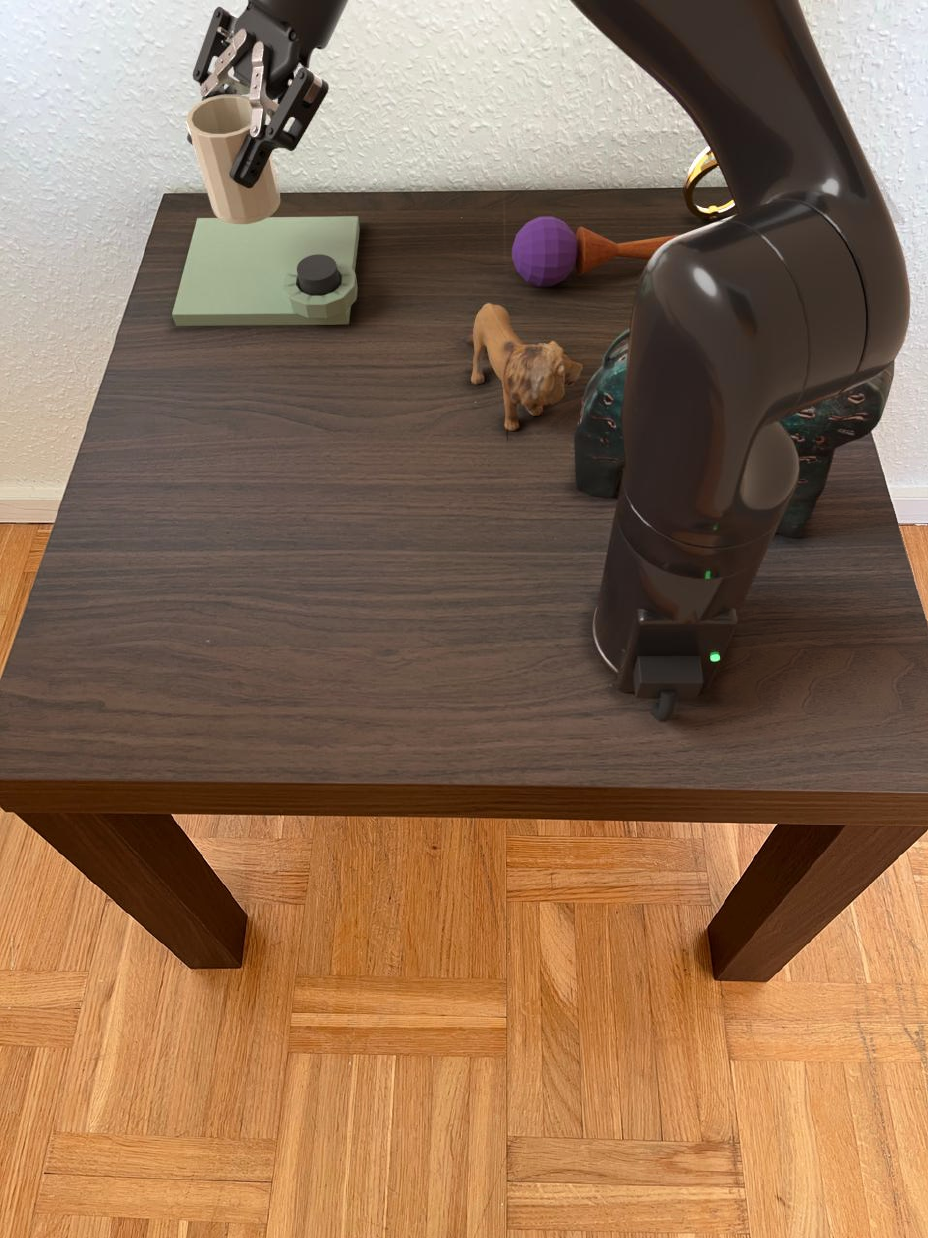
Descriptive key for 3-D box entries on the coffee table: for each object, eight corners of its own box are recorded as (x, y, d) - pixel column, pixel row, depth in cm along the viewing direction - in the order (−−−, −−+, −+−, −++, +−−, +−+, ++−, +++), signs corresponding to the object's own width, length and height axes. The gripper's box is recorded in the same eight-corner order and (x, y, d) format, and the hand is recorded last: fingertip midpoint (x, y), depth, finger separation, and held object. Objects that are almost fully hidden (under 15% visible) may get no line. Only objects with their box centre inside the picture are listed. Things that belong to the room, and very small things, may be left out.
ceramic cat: (825, 500, 72) (931, 291, 55) (817, 565, 69) (927, 365, 52) (579, 449, 75) (606, 237, 58) (560, 509, 72) (583, 303, 55)
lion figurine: (583, 432, 76) (594, 350, 68) (531, 460, 75) (536, 379, 67) (484, 332, 83) (484, 246, 75) (435, 356, 81) (430, 271, 74)
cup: (238, 233, 80) (215, 146, 73) (198, 202, 82) (171, 115, 75) (294, 202, 82) (276, 114, 75) (253, 173, 84) (232, 85, 77)
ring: (681, 231, 89) (697, 153, 83) (673, 211, 91) (688, 133, 84) (750, 224, 90) (772, 146, 83) (741, 204, 91) (762, 126, 85)
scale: (356, 330, 83) (352, 303, 81) (174, 332, 84) (164, 305, 81) (367, 228, 91) (363, 200, 88) (200, 230, 91) (192, 202, 89)
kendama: (740, 248, 82) (521, 254, 80) (718, 294, 87) (512, 301, 85) (727, 197, 84) (513, 202, 82) (706, 245, 89) (505, 250, 87)
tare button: (337, 296, 82) (334, 280, 80) (297, 296, 82) (294, 280, 80) (341, 270, 84) (338, 253, 82) (302, 270, 84) (298, 253, 82)
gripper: (394, 22, 71) (296, 219, 78) (292, -43, 77) (209, 145, 84) (328, -32, 65) (228, 187, 72) (223, -98, 71) (139, 109, 78)
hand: (218, 164), depth 78 cm, fingers closed on cup, 6 cm apart
